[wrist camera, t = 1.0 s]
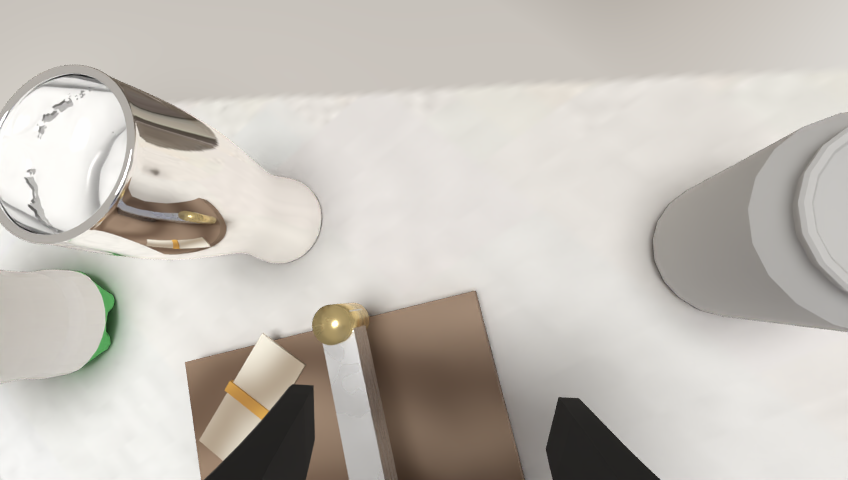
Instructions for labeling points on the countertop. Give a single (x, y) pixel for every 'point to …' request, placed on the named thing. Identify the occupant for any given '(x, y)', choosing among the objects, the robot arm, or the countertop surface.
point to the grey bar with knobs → (355, 391)
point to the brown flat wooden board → (399, 390)
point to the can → (766, 234)
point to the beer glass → (139, 177)
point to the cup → (50, 323)
